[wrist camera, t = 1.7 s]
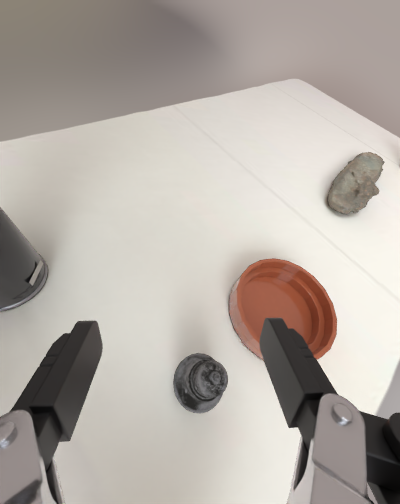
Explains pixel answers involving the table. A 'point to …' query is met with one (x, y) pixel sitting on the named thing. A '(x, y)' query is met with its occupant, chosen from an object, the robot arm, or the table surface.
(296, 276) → the bowl
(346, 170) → the long grey stone
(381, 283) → the table surface
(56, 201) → the table surface
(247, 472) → the table surface
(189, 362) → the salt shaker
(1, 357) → the table surface
